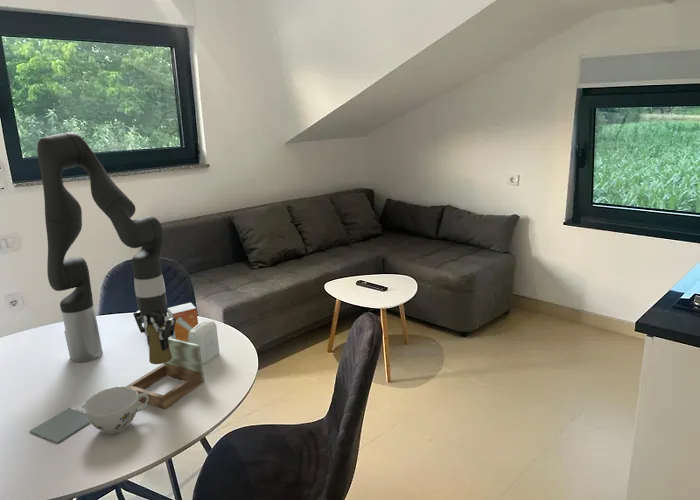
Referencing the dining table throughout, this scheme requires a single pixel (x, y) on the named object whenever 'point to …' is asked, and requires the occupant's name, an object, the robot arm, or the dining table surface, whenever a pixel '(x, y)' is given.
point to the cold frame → (173, 375)
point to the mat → (61, 425)
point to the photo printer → (205, 339)
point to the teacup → (113, 408)
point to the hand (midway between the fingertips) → (159, 348)
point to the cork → (157, 347)
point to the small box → (183, 320)
